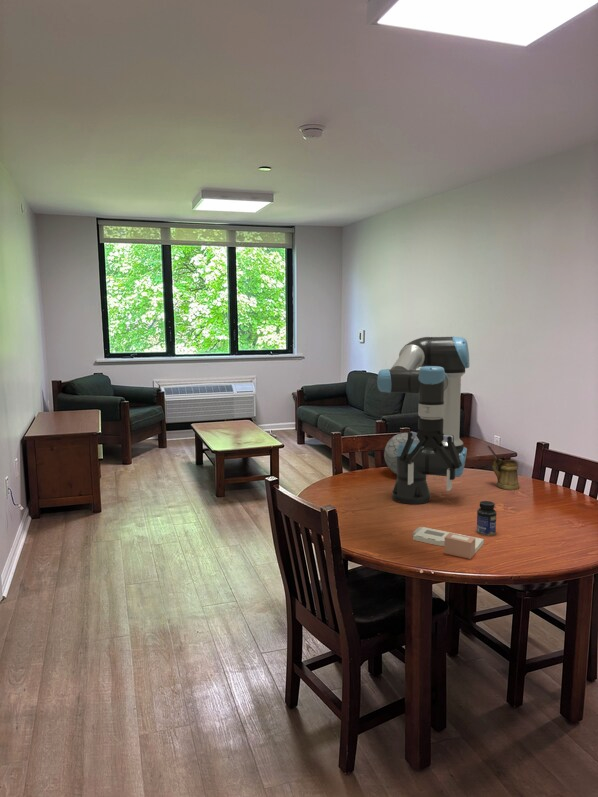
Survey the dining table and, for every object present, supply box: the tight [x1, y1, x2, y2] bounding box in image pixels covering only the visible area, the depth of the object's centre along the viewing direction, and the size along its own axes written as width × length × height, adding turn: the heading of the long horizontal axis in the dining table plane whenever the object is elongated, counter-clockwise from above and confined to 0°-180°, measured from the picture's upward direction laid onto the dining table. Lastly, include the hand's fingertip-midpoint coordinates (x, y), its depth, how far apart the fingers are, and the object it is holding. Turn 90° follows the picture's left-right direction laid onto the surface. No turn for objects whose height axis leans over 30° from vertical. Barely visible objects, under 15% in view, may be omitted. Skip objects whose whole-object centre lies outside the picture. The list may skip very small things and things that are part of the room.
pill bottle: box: [476, 500, 497, 537], centre depth 188 cm, size 6×6×11 cm
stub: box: [443, 532, 476, 560], centre depth 172 cm, size 8×4×5 cm, turn 57°
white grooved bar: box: [412, 526, 485, 554], centre depth 181 cm, size 20×9×2 cm, turn 57°
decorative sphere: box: [383, 432, 419, 475], centre depth 259 cm, size 20×20×20 cm
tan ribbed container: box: [487, 445, 520, 491], centre depth 240 cm, size 9×14×18 cm, turn 81°
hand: (429, 486), depth 175 cm, fingers open, 12 cm apart
